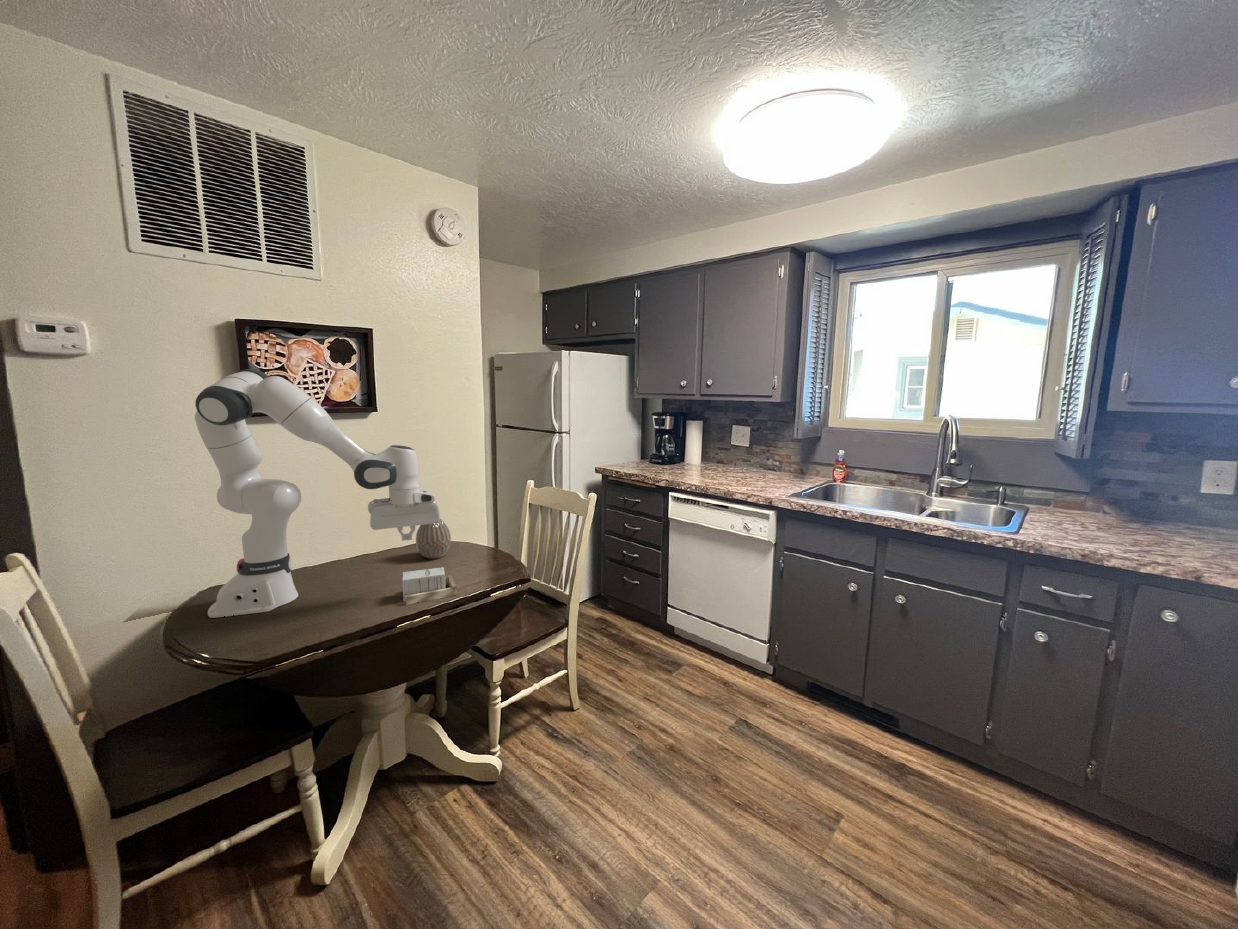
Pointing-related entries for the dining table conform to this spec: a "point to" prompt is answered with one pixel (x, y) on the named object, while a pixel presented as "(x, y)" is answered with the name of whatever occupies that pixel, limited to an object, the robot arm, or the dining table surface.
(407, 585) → the supplement box
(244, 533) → the robot arm
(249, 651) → the dining table surface
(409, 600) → the u rest
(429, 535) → the vase
